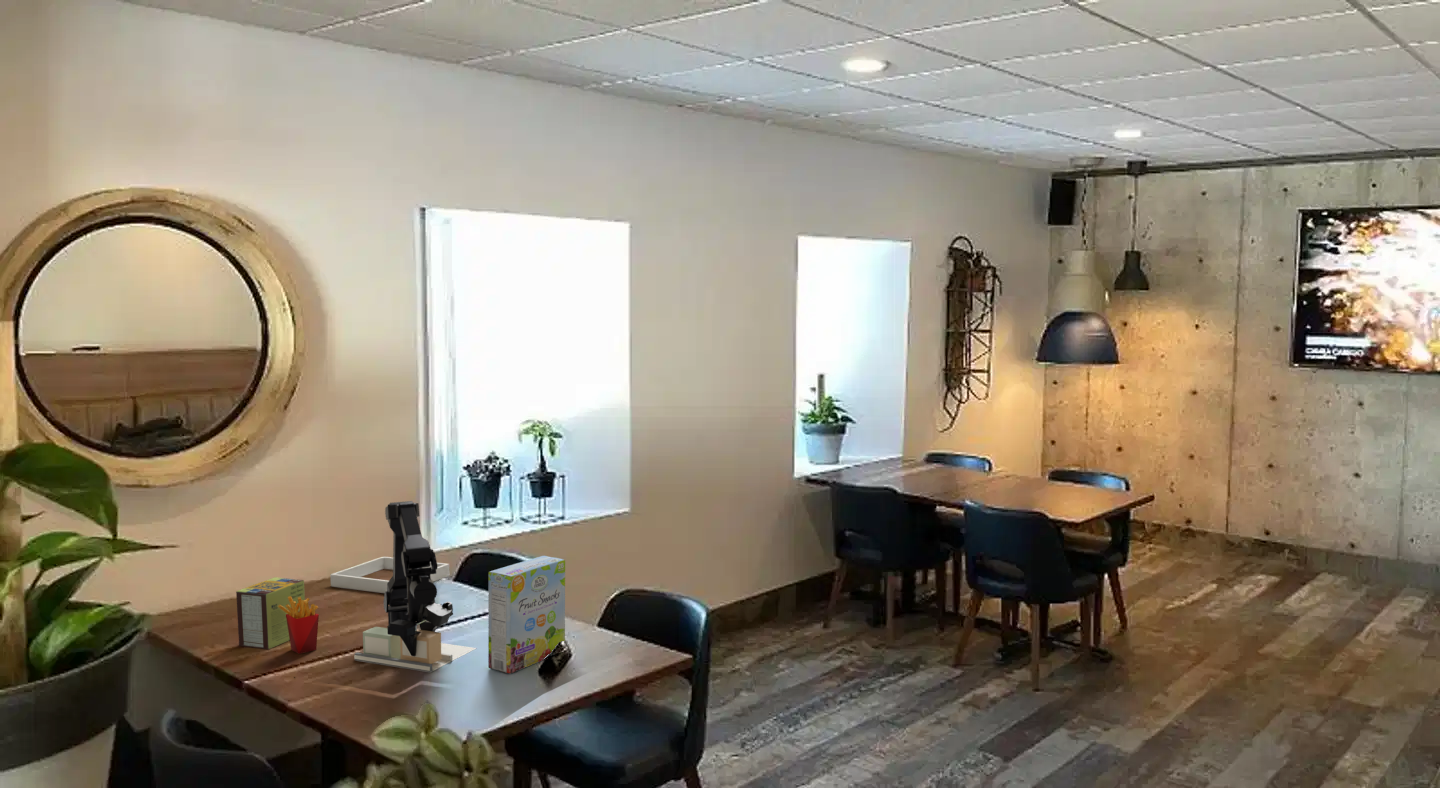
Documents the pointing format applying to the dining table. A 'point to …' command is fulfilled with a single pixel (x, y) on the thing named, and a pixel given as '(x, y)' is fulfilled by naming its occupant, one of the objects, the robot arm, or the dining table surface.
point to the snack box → (525, 612)
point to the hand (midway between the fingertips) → (420, 652)
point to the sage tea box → (381, 643)
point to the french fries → (302, 625)
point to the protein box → (266, 611)
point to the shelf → (447, 656)
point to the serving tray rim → (354, 579)
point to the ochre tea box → (424, 648)
